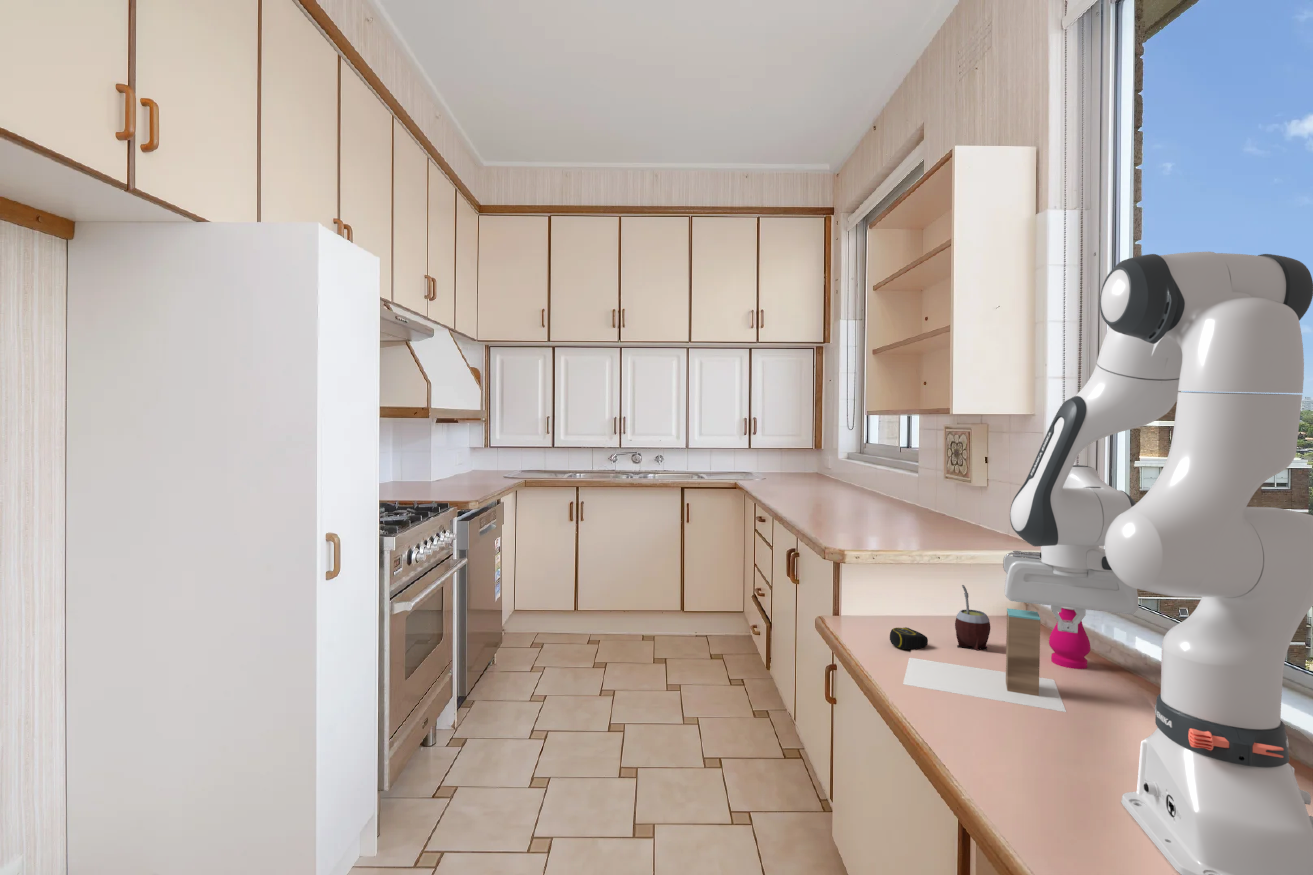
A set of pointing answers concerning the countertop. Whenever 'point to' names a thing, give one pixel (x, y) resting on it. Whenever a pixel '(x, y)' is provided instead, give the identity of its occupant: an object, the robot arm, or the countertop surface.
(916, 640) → the tape measure
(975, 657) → the countertop surface
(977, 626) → the mate gourd
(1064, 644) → the pepper mill
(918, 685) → the white flat rectangular panel
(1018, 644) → the walnut block
